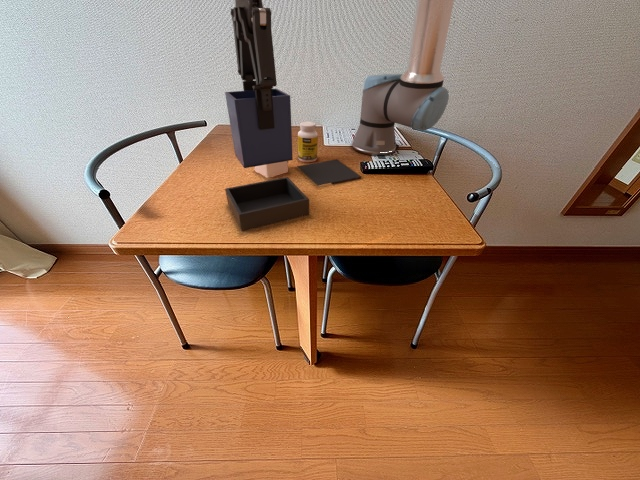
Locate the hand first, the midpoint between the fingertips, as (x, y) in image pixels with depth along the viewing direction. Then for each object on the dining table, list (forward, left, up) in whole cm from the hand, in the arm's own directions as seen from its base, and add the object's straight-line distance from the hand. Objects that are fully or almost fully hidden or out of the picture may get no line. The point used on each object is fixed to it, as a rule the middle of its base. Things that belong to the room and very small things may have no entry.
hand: (260, 122), depth 55 cm
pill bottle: (-22, -25, -20) cm, 39 cm away
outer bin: (0, 0, -20) cm, 20 cm away
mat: (-23, -13, -20) cm, 33 cm away
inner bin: (0, 0, -7) cm, 7 cm away
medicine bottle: (-8, -20, -20) cm, 29 cm away
